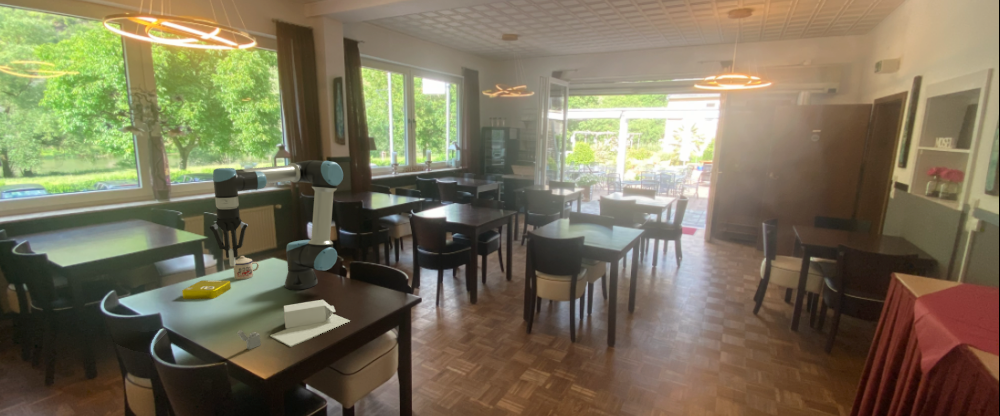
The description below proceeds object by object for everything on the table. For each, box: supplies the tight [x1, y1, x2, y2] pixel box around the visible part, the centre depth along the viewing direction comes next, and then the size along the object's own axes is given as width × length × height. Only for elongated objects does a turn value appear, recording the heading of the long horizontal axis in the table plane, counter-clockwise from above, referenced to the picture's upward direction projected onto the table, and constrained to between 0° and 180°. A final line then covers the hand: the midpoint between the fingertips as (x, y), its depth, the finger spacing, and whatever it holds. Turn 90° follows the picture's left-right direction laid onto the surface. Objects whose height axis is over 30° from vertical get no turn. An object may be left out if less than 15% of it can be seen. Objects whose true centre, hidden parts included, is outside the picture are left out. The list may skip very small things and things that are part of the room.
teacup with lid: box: [233, 255, 260, 280], centre depth 225 cm, size 12×9×12 cm
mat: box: [269, 313, 351, 348], centre depth 168 cm, size 26×21×1 cm
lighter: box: [236, 329, 262, 350], centre depth 150 cm, size 7×2×8 cm, turn 149°
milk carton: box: [283, 299, 336, 329], centre depth 172 cm, size 7×7×19 cm
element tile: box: [181, 279, 232, 300], centre depth 201 cm, size 15×15×5 cm
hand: (232, 265), depth 167 cm, fingers closed
